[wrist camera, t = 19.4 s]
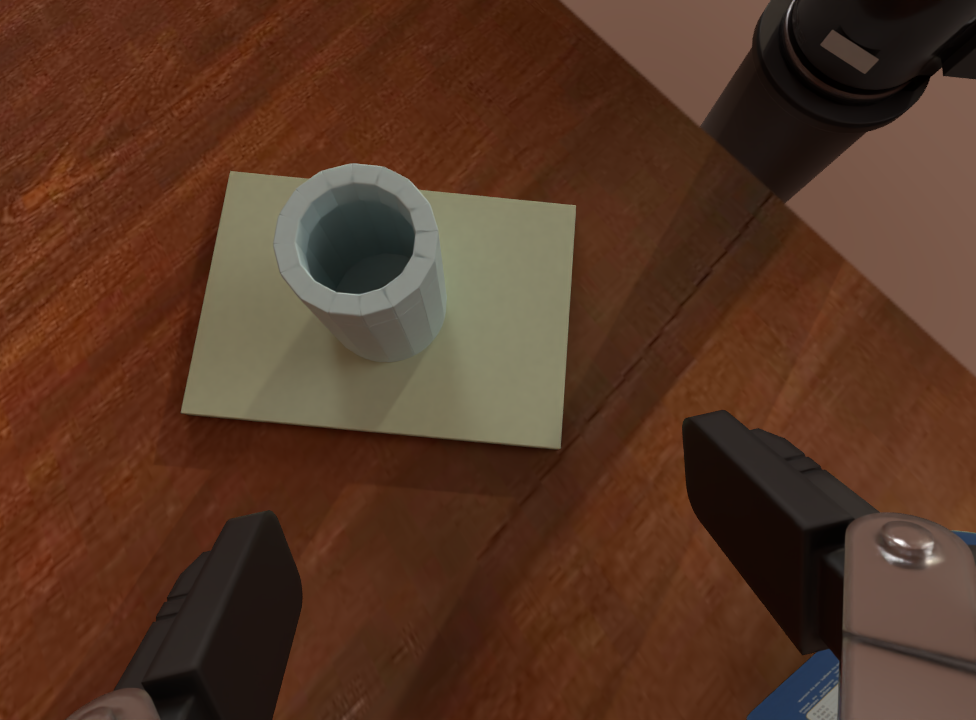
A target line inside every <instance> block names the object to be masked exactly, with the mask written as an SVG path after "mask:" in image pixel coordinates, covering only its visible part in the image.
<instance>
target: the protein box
mask: <svg viewBox="0 0 976 720" xmlns="http://www.w3.org/2000/svg"><path fill="white" fill-rule="evenodd" d="M952 532H953V533H955V534H956V535H957V536H959V537H960V538H961V539H962V540H963V541H964V542H965V543H966V544H967V545H976V533H971V532H962V531H954V530H953V531H952ZM838 682H839V660H838V659H837V657H836V656H835V655H834V654H833V653H832V651H831V650H830V649H826V650H822V651H818V652H816V653H815V654H814V655H813V656H812V657H811V658H810V659H809V660H808V661H807V662H806V663H804V664H803V665H802V666H801V667H800V668H799V669H798V670H797V671H796V672H794V673H793V674H792V675H791V676H790V677H789V678H788V679H787V680H786V681H784V682H783V683H782V684H781V685H780V686H779V687H778V688H777V689H776V690H775V691H774V692H772V693H771V694H770V695H769V696H768V697H767V698H766V699H765V700H764V701H763V702H762V703H761V704H760V705H758V706H757V707H756V708H755V709H754V710H753V711H752V712H751V713H750V714H749V715H748V716H747V720H837V712H838Z"/></svg>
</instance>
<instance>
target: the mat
mask: <svg viewBox="0 0 976 720" xmlns="http://www.w3.org/2000/svg"><path fill="white" fill-rule="evenodd" d="M307 180H309V179H303V178H293V177H283V176H273V175H263V174H253V173H243V172H233V171H230V175H229V180H228V185H227V190H226V195H225V199H224V204H223V209H222V214H221V219H220V224H219V229H218V234H217V238H216V243H215V248H214V253H213V258H212V263H211V268H210V273H209V277H208V282H207V287H206V292H205V297H204V302H203V307H202V312H201V316H200V321H199V326H198V331H197V336H196V341H195V346H194V351H193V355H192V360H191V365H190V370H189V375H188V380H187V385H186V390H185V394H184V399H183V404H182V409H181V413H182V414H186V415H194V416H205V417H216V418H226V419H237V420H247V421H258V422H269V423H279V424H290V425H300V426H311V427H322V428H332V429H343V430H353V431H364V432H375V433H385V434H396V435H406V436H417V437H428V438H438V439H449V440H459V441H470V442H481V443H491V444H502V445H512V446H523V447H534V448H544V449H555V450H558V449H560V448H561V433H562V417H563V402H564V386H565V371H566V355H567V339H568V324H569V308H570V293H571V277H572V261H573V246H574V230H575V215H576V206H574V205H564V204H554V203H544V202H534V201H524V200H514V199H504V198H494V197H484V196H474V195H464V194H454V193H444V192H434V191H424V190H419V191H420V192H421V193H422V195H423V196H424V197H425V198H426V199H427V200H428V202H429V203H430V205H431V208H432V211H433V215H434V218H435V221H436V224H437V227H438V232H439V240H440V247H441V255H442V263H443V271H444V279H445V287H446V295H447V301H446V314H445V319H444V322H443V325H442V327H441V329H440V331H439V333H438V335H437V336H436V338H435V339H434V340H433V341H432V342H431V344H430V345H429V346H427V347H426V348H425V349H424V350H423V351H421V352H420V353H418V354H416V355H414V356H412V357H410V358H408V359H405V360H401V361H397V362H376V361H371V360H368V359H365V358H363V357H360V356H358V355H357V354H355V353H353V352H352V351H350V350H349V349H347V348H346V347H345V346H344V345H343V344H342V343H341V342H340V341H339V340H338V339H337V338H336V337H335V336H334V335H333V334H332V333H331V332H330V330H329V329H328V328H327V327H326V326H325V325H324V324H323V323H322V322H321V321H320V320H319V319H318V318H317V317H316V316H315V315H314V314H313V313H312V311H311V310H310V309H309V308H308V307H307V306H306V305H305V304H304V303H303V302H302V301H301V300H300V299H299V298H298V296H297V295H296V294H295V293H294V291H293V290H292V289H291V288H290V286H289V285H288V284H287V283H286V281H285V280H284V279H283V278H282V276H281V274H280V272H279V268H278V264H277V260H276V256H275V252H274V248H273V241H274V235H275V230H276V225H277V219H278V216H279V214H280V212H281V210H282V209H283V207H284V206H285V204H286V203H287V201H288V200H289V198H290V197H291V195H292V194H293V192H294V191H295V190H296V188H297V187H299V186H300V185H302V184H303V183H304V182H306V181H307Z"/></svg>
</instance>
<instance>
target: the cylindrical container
mask: <svg viewBox="0 0 976 720" xmlns="http://www.w3.org/2000/svg"><path fill="white" fill-rule="evenodd" d="M273 248H274V252H275V256H276V260H277V264H278V268H279V272H280V274H281V276H282V278H283V279H284V280H285V281H286V283H287V284H288V285H289V286H290V288H291V289H292V290H293V291H294V293H295V294H296V295H297V296H298V298H299V299H300V300H301V301H302V302H303V303H304V304H305V305H306V306H307V307H308V308H309V309H310V310H311V311H312V313H313V314H314V315H315V316H316V317H317V318H318V319H319V320H320V321H321V322H322V323H323V324H324V325H325V326H326V327H327V328H328V329H329V330H330V332H331V333H332V334H333V335H334V336H335V337H336V338H337V339H338V340H339V341H340V342H341V343H342V344H343V345H344V346H345V347H346V348H347V349H349V350H350V351H352V352H353V353H355V354H357V355H358V356H360V357H363V358H365V359H368V360H371V361H376V362H397V361H401V360H405V359H408V358H410V357H412V356H414V355H416V354H418V353H420V352H421V351H423V350H424V349H425V348H426V347H427V346H429V345H430V344H431V342H432V341H433V340H434V339H435V338H436V336H437V335H438V333H439V331H440V329H441V327H442V325H443V322H444V319H445V314H446V301H447V295H446V287H445V279H444V271H443V263H442V255H441V247H440V240H439V232H438V227H437V224H436V221H435V218H434V215H433V211H432V208H431V205H430V203H429V202H428V200H427V199H426V198H425V197H424V196H423V195H422V193H421V192H420V191H419V190H418V189H417V188H416V187H415V185H414V184H413V183H412V182H411V181H410V180H409V179H407V178H405V177H403V176H401V175H399V174H397V173H395V172H393V171H391V170H389V169H387V168H385V167H381V166H373V165H363V164H347V165H343V166H339V167H335V168H332V169H328V170H324V171H322V172H319V173H317V174H316V175H315V176H313V177H312V178H310V179H309V180H307V181H306V182H304V183H303V184H302V185H300V186H299V187H297V188H296V190H295V191H294V192H293V194H292V195H291V197H290V198H289V200H288V201H287V203H286V204H285V206H284V207H283V209H282V210H281V212H280V214H279V216H278V219H277V225H276V230H275V235H274V241H273Z"/></svg>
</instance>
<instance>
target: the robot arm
mask: <svg viewBox="0 0 976 720" xmlns="http://www.w3.org/2000/svg"><path fill="white" fill-rule="evenodd" d="M779 46H780V51H781V54H782V57H783V59H784V62H785V63H786V65H787V67H788V69H789V70H790V72H791V73H792V74H793V75H794V77H795V78H796V79H797V80H798V81H799V82H800V83H801V84H802V85H803V86H804V87H806V88H807V89H808V90H810V91H811V92H813V93H814V94H816V95H818V96H820V97H822V98H824V99H826V100H829V101H831V102H835V103H838V104H842V105H849V106H867V105H873V104H877V103H880V102H883V101H885V100H888V99H890V98H891V97H893V96H895V95H896V94H897V93H899V92H900V91H912V92H913V91H915V90H916V89H918V88H919V87H920V86H921V85H922V84H923V83H925V82H926V81H927V80H928V79H929V78H930V77H931V76H933V75H934V74H935V73H936V72H937V71H938V70H939V69H941V68H942V69H943V76H950V77H959V78H969V79H976V0H793V1H792V2H791V4H790V5H789V7H788V8H787V10H786V11H785V13H784V15H783V17H782V20H781V23H780V27H779ZM682 434H683V448H684V461H685V475H686V487H687V493H688V497H689V500H690V503H691V506H692V508H693V511H694V513H695V514H696V516H697V518H698V519H699V521H700V522H701V523H702V525H703V526H704V527H705V528H706V530H707V531H708V532H709V534H710V535H711V536H712V538H713V539H714V540H715V542H716V543H717V544H718V546H719V547H720V548H721V549H722V551H723V552H724V553H725V555H726V556H727V557H728V559H729V560H730V561H731V563H732V564H733V565H734V566H735V568H736V569H737V570H738V572H739V573H740V574H741V576H742V577H743V578H744V580H745V581H746V582H747V584H748V585H749V586H750V587H751V589H752V590H753V591H754V593H755V594H756V595H757V597H758V598H759V599H760V601H761V602H762V603H763V604H764V606H765V607H766V608H767V610H768V611H769V612H770V614H771V615H772V616H773V618H774V619H775V620H776V622H777V623H778V624H779V625H780V627H781V628H782V629H783V631H784V632H785V633H786V635H787V636H788V637H789V639H790V640H791V641H792V642H793V644H794V645H795V646H796V648H797V649H798V650H799V652H800V653H801V654H802V655H806V654H810V653H814V652H818V651H822V650H826V649H830V650H831V651H832V653H833V654H834V655H835V656H836V657H837V659H838V660H839V682H838V712H837V720H976V545H967V544H966V543H965V542H964V541H963V540H962V539H961V538H960V537H959V536H957V535H956V534H955V533H953V532H952V531H950V530H948V529H947V528H945V527H943V526H941V525H939V524H937V523H935V522H932V521H929V520H927V519H924V518H920V517H916V516H912V515H907V514H901V513H880V512H879V511H878V510H876V509H875V508H874V507H872V506H871V505H870V504H869V503H867V502H866V501H865V500H863V499H862V498H861V497H860V496H858V495H857V494H856V493H854V492H853V491H852V490H851V489H849V488H848V487H847V486H845V485H844V484H843V483H842V482H840V481H839V480H838V479H836V478H835V477H834V476H833V475H831V474H830V473H829V472H827V471H826V470H822V469H821V466H820V465H818V464H817V463H816V462H814V461H813V460H812V459H811V458H809V457H805V454H804V453H803V452H802V451H800V450H799V449H798V448H796V447H795V446H794V445H793V444H791V443H790V442H789V441H787V440H786V439H785V438H782V437H779V436H777V435H774V434H772V433H769V432H766V431H764V430H761V429H759V428H758V429H753V430H749V429H748V428H746V427H745V426H744V425H743V424H742V423H740V422H739V421H738V420H737V419H736V418H734V417H733V416H732V415H731V414H730V413H728V412H727V411H725V410H720V411H715V412H711V413H706V414H702V415H698V416H693V417H689V418H685V419H684V421H683V425H682ZM301 608H302V585H301V579H300V575H299V573H298V570H297V567H296V565H295V562H294V559H293V557H292V554H291V552H290V549H289V546H288V544H287V541H286V539H285V536H284V534H283V531H282V528H281V526H280V523H279V521H278V518H277V517H276V515H275V514H274V513H273V512H272V511H270V510H268V511H264V512H259V513H255V514H250V515H246V516H241V517H237V518H232V519H229V520H228V521H227V522H226V524H225V525H224V527H223V529H222V531H221V533H220V535H219V536H218V538H217V540H216V542H215V544H214V546H213V548H212V550H211V551H207V552H203V553H202V554H201V555H200V556H199V557H198V558H197V559H196V560H195V561H194V562H193V563H192V564H191V565H190V566H189V567H188V568H187V569H186V570H185V571H184V572H182V573H181V574H180V576H179V578H178V580H177V581H176V583H175V585H174V586H173V588H172V590H171V592H170V593H169V595H168V597H167V602H164V604H163V606H162V607H161V609H160V611H159V613H158V614H157V616H156V622H153V623H152V625H151V626H150V628H149V630H148V632H147V633H146V635H145V637H144V639H143V640H142V642H141V644H140V646H139V647H138V649H137V651H136V653H135V654H134V656H133V658H132V660H131V661H130V663H129V665H128V666H127V668H126V670H125V672H124V673H123V675H122V677H121V679H120V680H119V682H118V684H117V686H116V687H115V689H114V691H112V692H110V693H107V694H104V695H102V696H100V697H98V698H96V699H94V700H92V701H91V702H89V703H87V704H86V705H84V706H83V707H81V708H80V709H78V710H77V711H75V712H74V713H73V714H72V715H70V716H69V717H68V718H67V719H65V720H272V718H273V714H274V710H275V707H276V703H277V699H278V695H279V692H280V688H281V684H282V680H283V676H284V673H285V669H286V665H287V661H288V658H289V654H290V650H291V646H292V642H293V639H294V635H295V631H296V627H297V623H298V620H299V616H300V612H301Z"/></svg>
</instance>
